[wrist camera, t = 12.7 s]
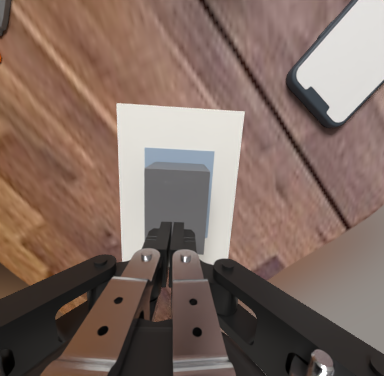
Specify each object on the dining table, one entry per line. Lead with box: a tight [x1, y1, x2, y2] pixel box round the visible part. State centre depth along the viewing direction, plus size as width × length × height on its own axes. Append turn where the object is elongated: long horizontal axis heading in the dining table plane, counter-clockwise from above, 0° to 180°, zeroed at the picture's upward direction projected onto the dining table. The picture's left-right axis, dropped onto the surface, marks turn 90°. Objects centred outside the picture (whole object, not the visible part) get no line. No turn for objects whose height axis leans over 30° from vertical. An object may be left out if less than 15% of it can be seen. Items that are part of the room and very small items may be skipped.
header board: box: [117, 103, 245, 265], centre depth 21 cm, size 14×20×4 cm
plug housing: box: [144, 162, 210, 255], centre depth 20 cm, size 6×8×6 cm
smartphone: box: [286, 0, 384, 128], centre depth 20 cm, size 9×2×16 cm
